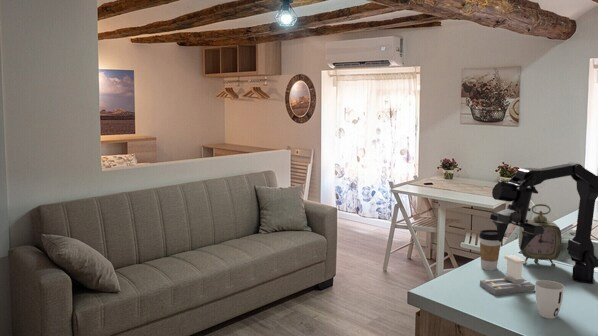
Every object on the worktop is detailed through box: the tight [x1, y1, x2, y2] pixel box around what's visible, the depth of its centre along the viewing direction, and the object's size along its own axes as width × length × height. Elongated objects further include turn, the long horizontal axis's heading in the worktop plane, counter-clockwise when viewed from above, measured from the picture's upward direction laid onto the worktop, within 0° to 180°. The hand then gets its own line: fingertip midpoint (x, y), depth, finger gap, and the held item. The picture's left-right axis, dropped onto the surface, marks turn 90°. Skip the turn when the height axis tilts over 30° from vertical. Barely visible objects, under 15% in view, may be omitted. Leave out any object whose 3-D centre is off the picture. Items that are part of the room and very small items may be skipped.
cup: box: [534, 279, 565, 319], centre depth 164 cm, size 8×8×10 cm
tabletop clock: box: [518, 203, 562, 268], centre depth 209 cm, size 14×9×25 cm, turn 77°
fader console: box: [479, 276, 536, 296], centre depth 186 cm, size 16×9×3 cm, turn 104°
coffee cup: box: [478, 229, 501, 271], centre depth 207 cm, size 8×8×15 cm
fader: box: [502, 254, 525, 283], centre depth 186 cm, size 4×7×8 cm, turn 14°
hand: (510, 245), depth 187 cm, fingers open, 9 cm apart
